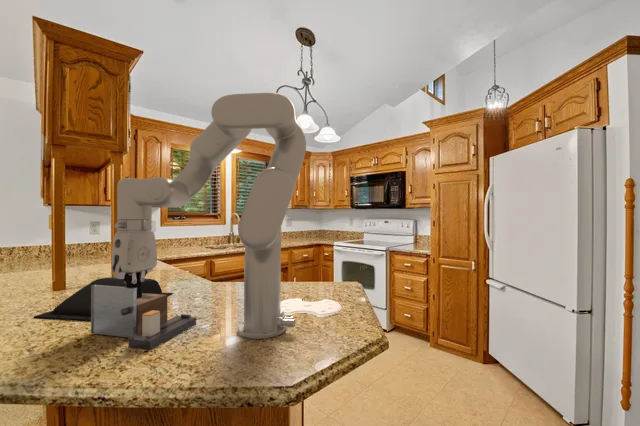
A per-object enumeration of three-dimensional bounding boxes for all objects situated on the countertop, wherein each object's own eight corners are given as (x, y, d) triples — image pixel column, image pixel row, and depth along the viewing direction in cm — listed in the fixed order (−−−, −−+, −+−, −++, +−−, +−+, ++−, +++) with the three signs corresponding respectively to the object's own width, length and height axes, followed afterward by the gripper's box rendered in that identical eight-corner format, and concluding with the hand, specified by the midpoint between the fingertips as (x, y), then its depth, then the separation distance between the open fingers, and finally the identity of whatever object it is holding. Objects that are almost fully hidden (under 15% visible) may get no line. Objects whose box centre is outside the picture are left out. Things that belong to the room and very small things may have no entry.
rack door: (136, 336, 73) (137, 287, 73) (128, 340, 71) (129, 289, 71) (94, 331, 76) (94, 284, 76) (85, 334, 74) (85, 286, 74)
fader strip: (195, 324, 82) (195, 315, 82) (150, 350, 66) (150, 338, 66) (177, 322, 83) (177, 313, 83) (128, 347, 68) (128, 335, 68)
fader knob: (160, 331, 72) (160, 310, 72) (150, 336, 69) (150, 315, 69) (152, 330, 72) (152, 310, 72) (142, 335, 69) (142, 314, 69)
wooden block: (167, 323, 83) (167, 294, 83) (137, 337, 73) (137, 305, 73) (129, 319, 86) (129, 291, 86) (95, 332, 76) (96, 301, 76)
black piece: (117, 293, 117) (33, 320, 87) (117, 272, 117) (33, 291, 87) (172, 296, 113) (105, 324, 84) (172, 273, 113) (106, 294, 84)
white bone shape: (279, 294, 109) (347, 296, 106) (279, 299, 109) (347, 301, 106) (261, 312, 89) (344, 316, 86) (261, 318, 89) (344, 322, 86)
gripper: (120, 228, 68) (119, 308, 68) (168, 225, 82) (168, 291, 82) (94, 227, 69) (94, 305, 69) (146, 225, 84) (145, 290, 84)
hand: (134, 297), depth 76 cm, fingers closed
